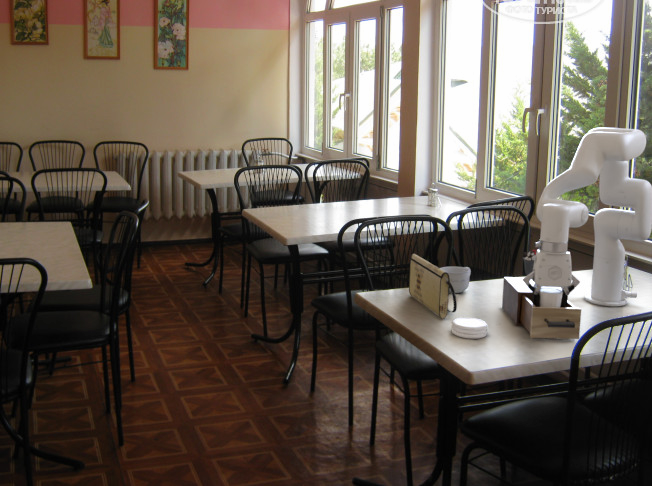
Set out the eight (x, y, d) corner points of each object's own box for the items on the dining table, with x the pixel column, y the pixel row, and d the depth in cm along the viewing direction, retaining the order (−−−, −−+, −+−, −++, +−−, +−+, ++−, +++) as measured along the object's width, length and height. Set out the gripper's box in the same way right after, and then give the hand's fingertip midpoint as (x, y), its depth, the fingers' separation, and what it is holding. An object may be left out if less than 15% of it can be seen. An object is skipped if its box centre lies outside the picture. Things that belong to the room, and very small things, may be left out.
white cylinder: (557, 310, 217) (559, 287, 216) (564, 317, 210) (565, 293, 209) (533, 309, 218) (535, 286, 217) (539, 316, 211) (541, 293, 210)
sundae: (542, 288, 264) (545, 247, 261) (523, 288, 264) (526, 247, 261) (536, 283, 270) (539, 243, 268) (518, 283, 270) (520, 243, 268)
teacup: (451, 296, 252) (452, 273, 251) (431, 288, 262) (432, 266, 260) (482, 291, 259) (483, 269, 257) (461, 284, 268) (462, 263, 267)
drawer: (585, 345, 203) (587, 314, 201) (536, 343, 203) (538, 313, 202) (560, 320, 224) (562, 292, 222) (515, 319, 224) (517, 291, 223)
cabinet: (565, 327, 221) (568, 293, 219) (516, 326, 221) (518, 291, 220) (547, 309, 238) (549, 278, 236) (501, 308, 239) (503, 277, 237)
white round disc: (493, 337, 211) (494, 326, 210) (462, 340, 208) (463, 328, 207) (475, 326, 220) (475, 315, 219) (445, 329, 217) (445, 318, 217)
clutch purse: (462, 319, 227) (464, 272, 224) (441, 321, 225) (443, 273, 223) (424, 293, 255) (426, 251, 253) (405, 294, 254) (407, 252, 251)
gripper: (526, 249, 207) (522, 310, 210) (589, 250, 207) (584, 311, 210) (519, 243, 215) (515, 302, 218) (579, 244, 214) (575, 303, 217)
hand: (549, 306), depth 214 cm, fingers closed on white cylinder, 6 cm apart
